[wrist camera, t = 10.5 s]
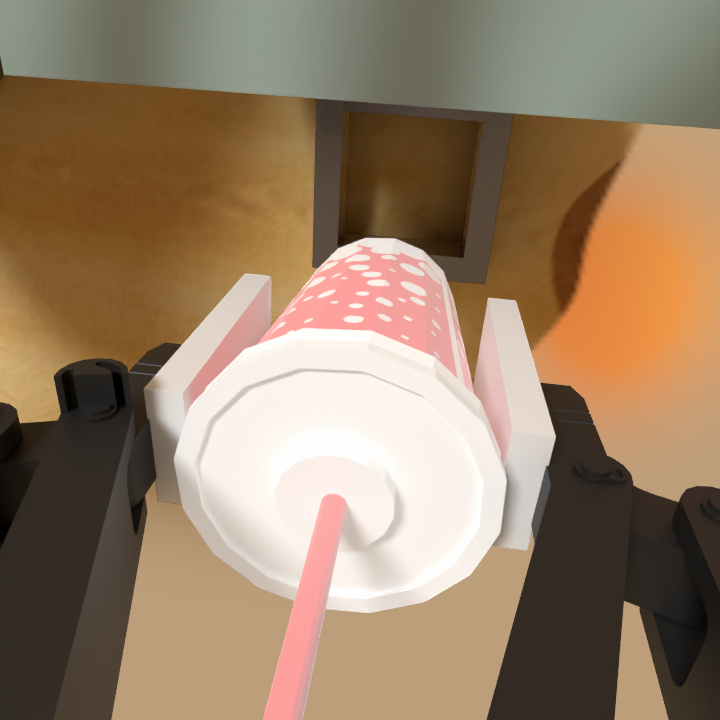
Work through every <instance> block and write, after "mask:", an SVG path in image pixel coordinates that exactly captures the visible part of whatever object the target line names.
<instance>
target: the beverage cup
mask: <svg viewBox="0 0 720 720" xmlns="http://www.w3.org/2000/svg"><path fill="white" fill-rule="evenodd" d="M174 465H175V470H176V475H177V480H178V486H179V491H180V496H181V501H182V506H183V510H184V511H185V513H186V514H187V516H188V517H189V519H190V520H191V522H192V523H193V525H194V526H195V528H196V529H197V530H198V532H199V534H200V535H201V536H202V538H203V539H204V541H205V542H206V544H207V545H208V547H209V548H210V550H211V551H212V553H213V554H214V555H216V556H217V557H218V558H220V559H221V560H222V561H224V562H225V563H226V564H228V565H229V566H230V567H232V568H233V569H234V570H236V571H237V572H238V573H240V574H241V575H242V576H244V577H245V578H246V579H248V580H249V581H250V582H252V583H253V584H254V585H256V586H257V587H259V588H261V589H264V590H267V591H269V592H272V593H275V594H277V595H280V596H283V597H285V598H288V599H290V600H293V601H294V605H293V609H292V613H291V616H290V620H289V624H288V628H287V631H286V635H285V639H284V643H283V646H282V650H281V654H280V657H279V661H278V665H277V669H276V672H275V676H274V680H273V684H272V688H271V691H270V695H269V699H268V703H267V706H266V710H265V714H264V718H263V720H303V716H304V711H305V707H306V702H307V697H308V692H309V687H310V682H311V677H312V672H313V668H314V662H315V658H316V653H317V649H318V644H319V639H320V634H321V629H322V624H323V620H324V615H325V610H326V609H332V610H343V611H355V612H365V613H372V612H376V611H381V610H387V609H392V608H397V607H402V606H407V605H412V604H416V603H422V602H425V601H427V600H429V599H430V598H432V597H434V596H435V595H437V594H439V593H440V592H442V591H444V590H446V589H447V588H449V587H451V586H452V585H454V584H456V583H457V582H459V581H461V580H462V579H464V578H466V577H468V576H469V575H471V573H472V572H473V571H474V569H475V568H476V566H477V565H478V564H479V562H480V561H481V559H482V558H483V556H484V555H485V554H486V552H487V551H488V549H489V548H490V547H491V545H492V544H493V542H494V541H495V540H496V538H497V537H498V535H499V534H500V532H501V524H502V516H503V507H504V499H505V491H506V483H507V478H506V471H505V468H504V466H503V463H502V461H501V452H500V449H499V447H498V444H497V441H496V439H495V436H494V434H493V431H492V429H491V426H490V423H489V421H488V418H487V416H486V413H485V411H484V408H483V405H482V403H481V401H480V400H479V399H478V398H477V397H476V396H475V394H474V389H473V385H472V380H471V375H470V371H469V366H468V362H467V357H466V353H465V348H464V343H463V339H462V334H461V330H460V325H459V321H458V316H457V311H456V307H455V302H454V298H453V295H452V292H451V290H450V287H449V284H448V282H447V279H446V277H445V274H444V271H443V270H442V269H441V268H440V267H439V266H438V265H437V264H436V263H435V262H434V261H433V260H432V259H431V258H430V257H429V256H428V255H427V254H426V253H425V252H424V251H423V250H421V249H419V248H416V247H414V246H412V245H409V244H407V243H405V242H402V241H400V240H398V239H395V238H364V239H361V240H359V241H356V242H353V243H351V244H348V245H346V246H343V247H341V248H338V249H337V250H336V251H335V252H334V253H333V254H332V255H331V256H330V257H329V258H328V259H327V260H326V261H325V262H324V263H323V264H322V265H321V266H320V267H319V268H318V269H317V270H316V272H315V273H314V274H313V275H312V277H311V278H310V279H309V280H308V282H307V283H306V284H305V285H304V287H303V288H302V289H301V290H300V292H299V293H298V294H297V295H296V297H295V298H294V299H293V300H292V302H291V303H290V304H289V305H288V307H287V308H286V309H285V310H284V312H283V313H282V314H281V315H280V317H279V318H278V319H277V320H276V322H275V323H274V324H273V325H272V326H271V328H270V329H269V330H268V331H267V333H266V334H265V335H264V336H263V338H262V339H261V340H260V341H259V343H258V344H257V345H255V346H252V347H249V348H246V349H244V350H243V351H242V352H241V353H240V354H239V355H238V356H237V357H236V358H235V359H234V360H233V361H232V362H231V363H230V364H229V365H228V366H227V367H226V368H225V369H224V370H223V371H222V372H221V373H220V374H219V375H218V376H217V377H216V378H215V379H214V380H213V381H212V382H211V383H210V384H209V385H208V386H207V387H206V389H205V391H204V392H203V393H202V394H201V395H200V396H199V397H198V398H197V399H196V400H195V401H194V402H193V404H192V405H191V406H190V408H189V410H188V413H187V416H186V419H185V423H184V426H183V429H182V433H181V436H180V439H179V442H178V446H177V449H176V452H175V455H174Z"/></svg>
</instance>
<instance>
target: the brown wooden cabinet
mask: <svg viewBox="0 0 720 720" xmlns="http://www.w3.org/2000/svg"><path fill="white" fill-rule="evenodd" d="M0 57H1V62H2V68H3V73H4V75H12V76H25V77H38V78H52V79H65V80H78V81H91V82H104V83H118V84H131V85H144V86H157V87H170V88H184V89H197V90H210V91H223V92H237V93H250V94H263V95H276V96H289V97H303V98H316V99H329V100H342V101H355V102H369V103H382V104H395V105H408V106H421V107H435V108H448V109H461V110H474V111H487V112H501V113H514V114H527V115H540V116H553V117H567V118H580V119H593V120H606V121H619V122H633V123H646V124H659V125H673V126H686V127H699V128H712V129H720V0H0Z"/></svg>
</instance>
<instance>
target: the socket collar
mask: <svg viewBox="0 0 720 720" xmlns="http://www.w3.org/2000/svg"><path fill="white" fill-rule="evenodd" d="M350 112H362V113H375V114H388V115H401V116H414V117H427V118H440V119H453V120H466V121H479V128H478V135H477V142H476V149H475V156H474V163H473V170H472V177H471V184H470V191H469V198H468V205H467V212H466V219H465V226H464V233H463V240H462V244H461V243H450V242H439V241H429V240H418V239H407V238H396V237H386V236H375V235H364V234H353V233H344V231H345V210H346V190H347V169H348V149H349V128H350ZM512 119H513V113H501V112H487V111H474V110H461V109H448V108H435V107H421V106H408V105H395V104H382V103H369V102H355V101H342V100H329V99H316V139H315V180H314V222H313V263H312V267H313V268H319V267H320V266H321V265H322V264H323V263H324V262H325V261H326V260H327V259H328V258H329V257H330V256H331V255H332V254H333V253H334V252H335V251H336V250H337V249H338V248H341V247H343V246H346V245H348V244H351V243H353V242H356V241H359V240H361V239H364V238H395V239H398V240H400V241H402V242H405V243H407V244H409V245H412V246H414V247H416V248H419V249H421V250H423V251H424V252H425V253H426V254H427V255H428V256H429V257H430V258H431V259H432V260H433V261H434V262H435V263H436V264H437V265H438V266H439V267H440V268H441V269H442V270H443V271H444V274H445V277H446V279H447V281H456V282H467V283H477V284H485V281H486V275H487V269H488V263H489V257H490V251H491V245H492V239H493V233H494V227H495V221H496V215H497V209H498V203H499V197H500V191H501V185H502V179H503V173H504V167H505V161H506V155H507V149H508V143H509V137H510V131H511V125H512Z"/></svg>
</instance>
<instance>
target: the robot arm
mask: <svg viewBox="0 0 720 720" xmlns="http://www.w3.org/2000/svg"><path fill="white" fill-rule="evenodd" d="M3 75H4V73H3V68H2V62H1V57H0V80H1V78H2V76H3ZM271 326H272V308H271V276H268V275H258V274H248V273H245V274H244V275H243V276H242V277H241V278H240V280H239V281H238V282H237V283H236V284H235V285H234V286H233V287H232V289H231V290H230V291H229V292H228V293H227V294H226V295H225V297H224V298H223V299H222V300H221V301H220V302H219V303H218V305H217V306H216V307H215V308H214V309H213V310H212V311H211V312H210V314H209V315H208V316H207V317H206V318H205V319H204V320H203V322H202V323H201V324H200V325H199V326H198V327H197V328H196V330H195V331H194V332H193V333H192V334H191V335H190V336H189V338H188V339H187V340H186V341H185V342H184V343H183V344H182V345H181V344H172V343H164V344H162V345H160V346H158V347H156V348H154V349H152V350H150V351H148V352H147V353H146V354H145V355H144V356H143V357H142V358H141V359H140V360H139V361H138V364H135V365H134V366H133V367H132V369H131V370H130V372H129V373H128V367H127V366H125V365H124V364H123V363H122V362H119V361H116V360H112V359H99V358H97V359H89V360H82V361H79V362H75V363H72V364H69V365H67V366H66V367H64V368H62V369H60V370H59V371H58V372H57V373H56V374H55V375H54V380H55V385H56V390H57V395H58V400H59V405H60V410H61V415H60V417H59V419H58V420H57V421H48V422H34V423H20V422H19V418H18V414H17V410H16V409H15V408H14V407H13V406H11V405H10V404H6V403H1V402H0V720H111V718H112V712H113V706H114V700H115V695H116V689H117V683H118V678H119V672H120V666H121V661H122V655H123V649H124V643H125V637H126V632H127V626H128V620H129V615H130V609H131V603H132V597H133V591H134V586H135V580H136V574H137V569H138V563H139V557H140V551H141V546H142V540H143V534H144V528H145V522H146V516H147V507H146V499H145V494H146V493H147V491H148V490H149V488H150V487H151V485H152V484H153V482H154V481H155V484H156V492H157V500H158V501H159V502H166V503H174V504H181V505H182V501H181V496H180V491H179V486H178V480H177V475H176V470H175V465H174V455H175V452H176V449H177V446H178V442H179V439H180V436H181V433H182V429H183V426H184V423H185V419H186V416H187V413H188V410H189V408H190V406H191V405H192V404H193V402H194V401H195V400H196V399H197V398H198V397H199V396H200V395H201V394H202V393H203V392H204V391H205V389H206V387H207V386H208V385H209V384H210V383H211V382H212V381H213V380H214V379H215V378H216V377H217V376H218V375H219V374H220V373H221V372H222V371H223V370H224V369H225V368H226V367H227V366H228V365H229V364H230V363H231V362H232V361H233V360H234V359H235V358H236V357H237V356H238V355H239V354H240V353H241V352H242V351H243V350H244V349H246V348H249V347H252V346H255V345H257V344H258V343H259V341H260V340H261V339H262V338H263V336H264V335H265V334H266V333H267V331H268V330H269V329H270V328H271ZM473 385H474V394H475V396H476V397H477V398H478V399H479V400H480V401H481V403H482V405H483V408H484V411H485V413H486V416H487V418H488V421H489V423H490V426H491V429H492V431H493V434H494V436H495V439H496V441H497V444H498V447H499V449H500V452H501V461H502V463H503V466H504V468H505V471H506V478H507V483H506V491H505V499H504V507H503V516H502V524H501V532H500V534H499V535H498V537H497V538H496V540H495V541H494V542H493V544H492V545H491V546H498V547H506V548H513V549H521V550H527V548H528V544H529V540H530V536H531V532H532V531H533V537H534V542H535V545H534V549H533V553H532V557H531V560H530V564H529V568H528V571H527V575H526V578H525V582H524V586H523V589H522V593H521V597H520V600H519V604H518V607H517V611H516V615H515V618H514V622H513V626H512V630H511V633H510V637H509V640H508V644H507V648H506V651H505V655H504V658H503V662H502V666H501V669H500V673H499V677H498V680H497V684H496V688H495V691H494V695H493V699H492V702H491V706H490V709H489V713H488V717H487V720H614V717H615V704H616V692H617V678H618V666H619V653H620V641H621V629H622V617H623V604H624V601H626V602H629V603H631V604H634V605H636V606H639V607H640V614H641V618H642V621H643V625H644V629H645V633H646V636H647V640H648V644H649V648H650V651H651V655H652V659H653V663H654V666H655V670H656V674H657V678H658V681H659V685H660V689H661V693H662V696H663V700H664V704H665V707H666V711H667V715H668V719H669V720H720V489H718V488H714V487H705V486H696V487H692V488H689V489H686V491H685V492H684V493H683V495H682V496H681V498H680V501H679V502H676V501H673V500H670V499H667V498H663V497H660V496H657V495H654V494H651V493H649V492H646V491H643V490H641V489H639V488H637V487H635V486H633V480H632V476H631V474H630V472H629V471H628V470H627V469H626V468H625V467H624V465H622V464H620V463H619V462H618V461H616V460H615V459H613V458H611V457H609V456H607V455H606V452H605V450H604V447H603V445H602V442H601V440H600V437H599V435H598V432H597V430H596V427H595V425H593V420H592V418H591V415H590V414H589V410H588V408H587V405H586V403H585V400H584V398H583V397H582V396H581V395H579V394H578V393H577V392H576V391H575V390H574V389H573V388H571V386H565V385H555V384H547V383H540V381H539V377H538V374H537V371H536V367H535V364H534V360H533V357H532V353H531V350H530V346H529V343H528V340H527V336H526V333H525V329H524V326H523V323H522V319H521V316H520V312H519V309H518V305H517V302H516V300H507V299H497V298H488V301H487V307H486V313H485V319H484V325H483V330H482V336H481V342H480V348H479V354H478V360H477V365H476V371H475V377H474V383H473Z"/></svg>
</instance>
